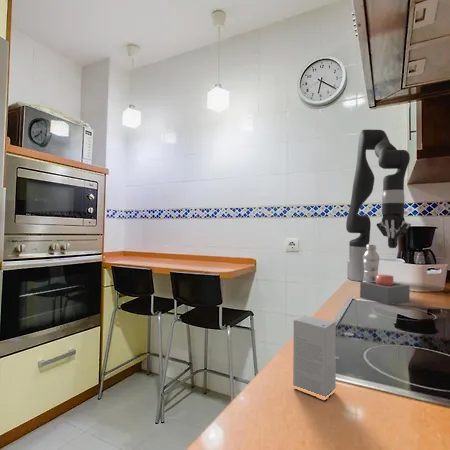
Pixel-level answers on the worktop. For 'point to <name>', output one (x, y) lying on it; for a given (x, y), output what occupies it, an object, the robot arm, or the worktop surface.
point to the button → (384, 280)
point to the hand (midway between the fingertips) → (392, 247)
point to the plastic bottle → (370, 263)
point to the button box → (385, 292)
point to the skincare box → (314, 355)
